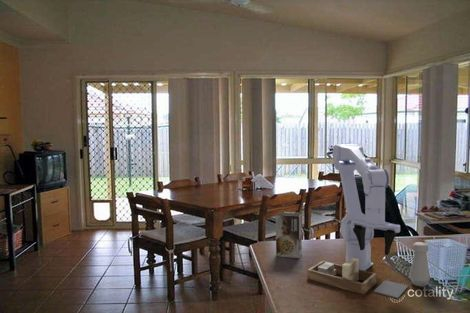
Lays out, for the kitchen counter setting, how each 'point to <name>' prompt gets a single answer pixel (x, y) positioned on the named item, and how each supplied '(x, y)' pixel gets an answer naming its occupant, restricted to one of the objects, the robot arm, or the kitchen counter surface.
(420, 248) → the salt shaker
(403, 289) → the rubber mat
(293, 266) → the kitchen counter surface
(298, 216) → the coffee box
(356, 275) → the cream flat block
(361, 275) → the tray
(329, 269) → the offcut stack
